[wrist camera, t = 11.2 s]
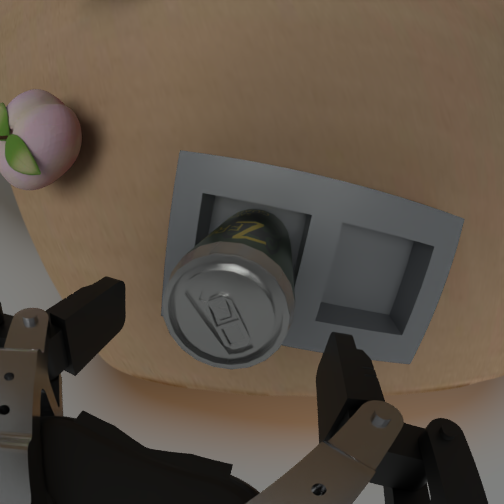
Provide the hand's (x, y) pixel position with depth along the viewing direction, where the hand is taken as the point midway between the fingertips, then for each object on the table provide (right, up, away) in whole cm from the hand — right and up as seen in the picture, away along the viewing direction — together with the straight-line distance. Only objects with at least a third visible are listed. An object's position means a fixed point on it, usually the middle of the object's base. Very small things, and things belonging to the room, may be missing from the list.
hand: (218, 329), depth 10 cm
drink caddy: (+6, +3, +13) cm, 14 cm away
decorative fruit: (-16, +14, +13) cm, 25 cm away
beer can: (+1, +4, +12) cm, 13 cm away
